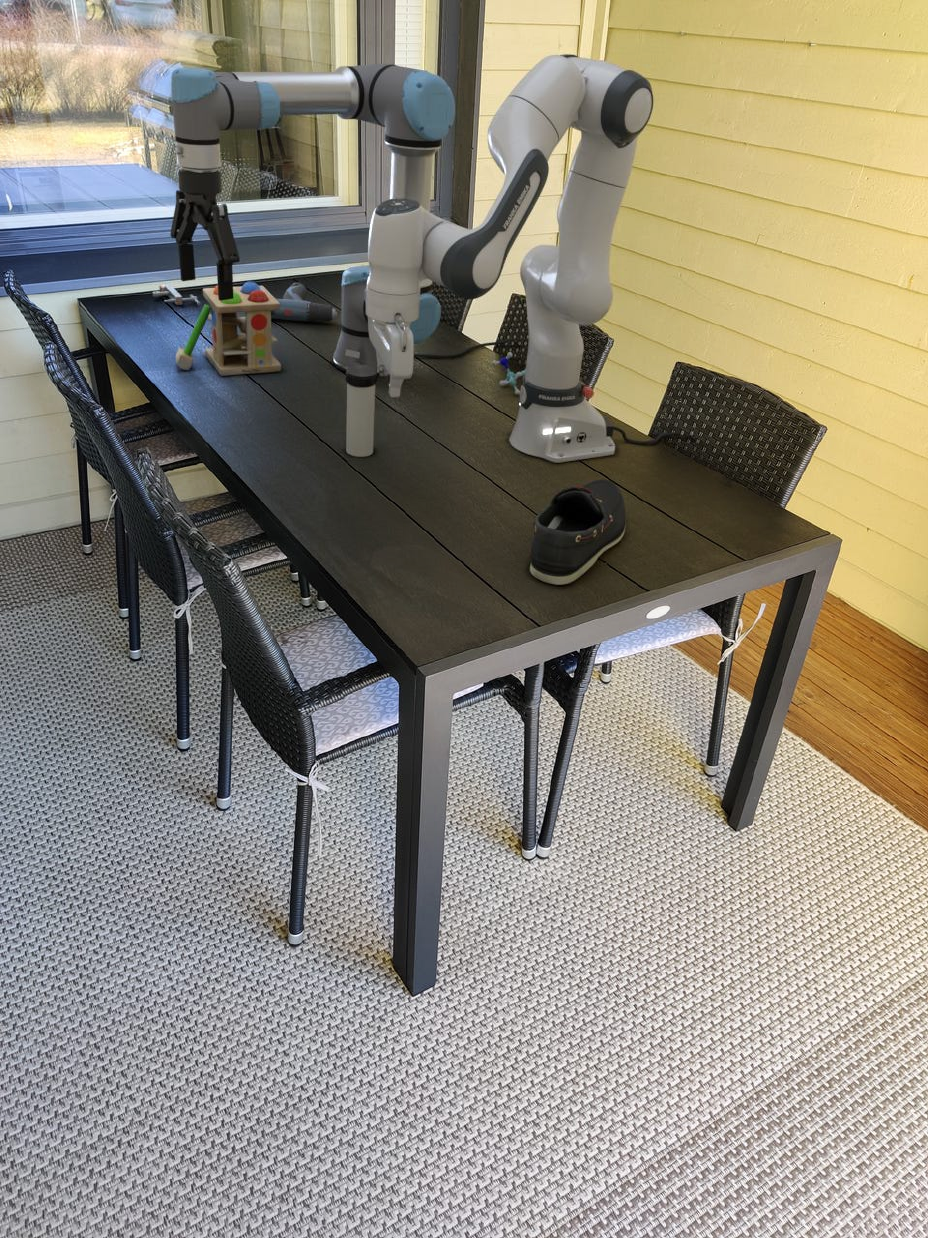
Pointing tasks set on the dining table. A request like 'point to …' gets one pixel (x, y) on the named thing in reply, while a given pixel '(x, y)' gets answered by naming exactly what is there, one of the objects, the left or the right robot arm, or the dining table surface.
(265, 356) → the pounding bench toy
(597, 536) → the boat shoe
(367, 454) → the jar
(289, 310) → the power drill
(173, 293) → the clamp
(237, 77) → the left robot arm
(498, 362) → the molecular model
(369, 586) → the dining table surface
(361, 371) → the lid
